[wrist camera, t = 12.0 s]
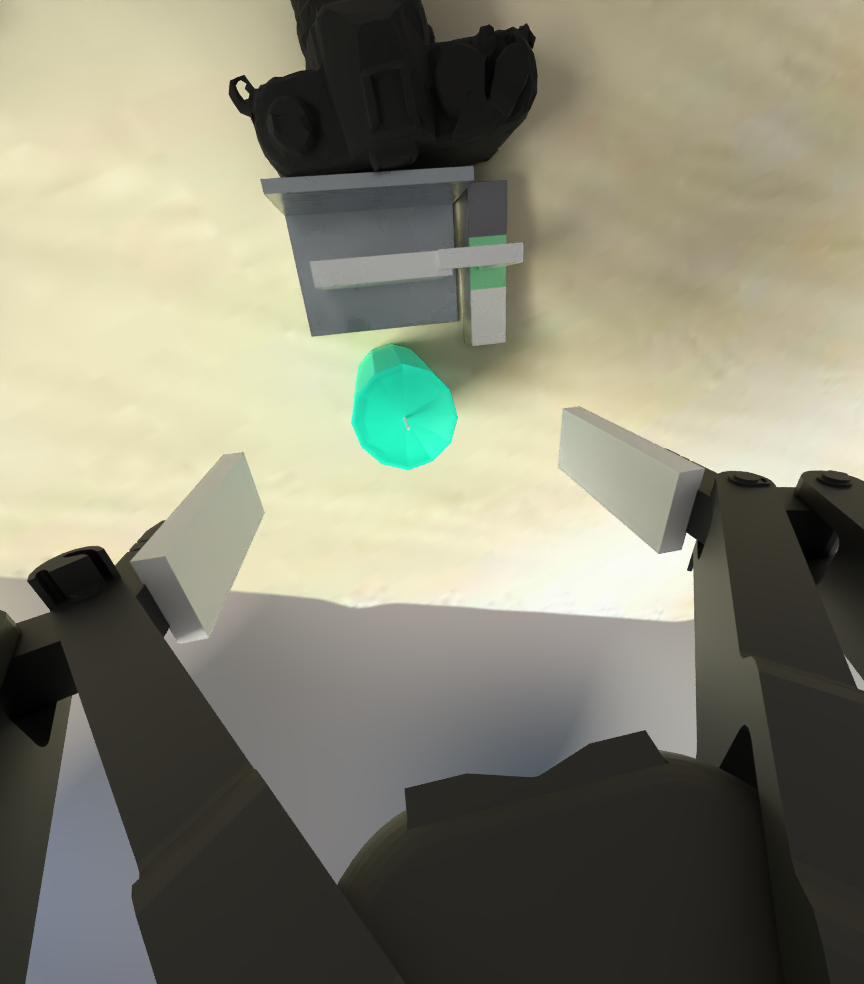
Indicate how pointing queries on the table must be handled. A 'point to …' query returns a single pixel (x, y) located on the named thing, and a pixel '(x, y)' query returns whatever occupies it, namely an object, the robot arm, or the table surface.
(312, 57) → the film camera
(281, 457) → the table surface
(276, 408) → the table surface
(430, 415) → the candle
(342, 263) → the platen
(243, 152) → the table surface
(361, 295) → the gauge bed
